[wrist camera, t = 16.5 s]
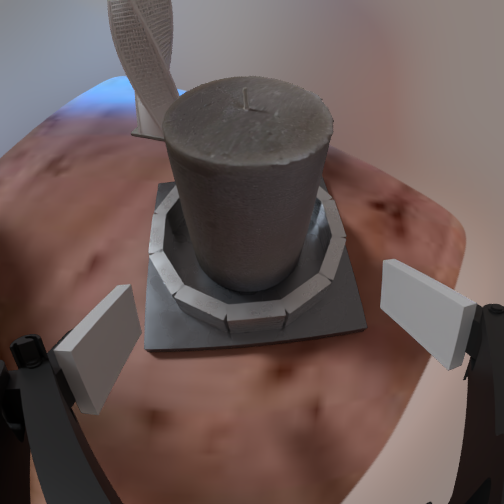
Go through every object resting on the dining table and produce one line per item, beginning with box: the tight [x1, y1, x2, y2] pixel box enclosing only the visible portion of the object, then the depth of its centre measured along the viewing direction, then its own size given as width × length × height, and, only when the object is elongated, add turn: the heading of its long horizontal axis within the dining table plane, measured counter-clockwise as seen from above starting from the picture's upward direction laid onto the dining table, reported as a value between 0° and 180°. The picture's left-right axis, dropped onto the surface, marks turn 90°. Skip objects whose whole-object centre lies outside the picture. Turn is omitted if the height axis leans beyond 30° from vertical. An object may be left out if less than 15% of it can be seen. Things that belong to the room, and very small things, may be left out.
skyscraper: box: [108, 0, 180, 141], centre depth 27 cm, size 8×8×28 cm
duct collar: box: [144, 176, 367, 352], centre depth 26 cm, size 18×18×4 cm
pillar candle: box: [162, 76, 334, 292], centre depth 20 cm, size 10×10×15 cm
